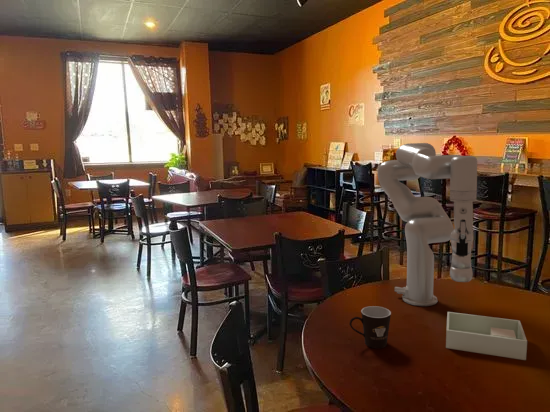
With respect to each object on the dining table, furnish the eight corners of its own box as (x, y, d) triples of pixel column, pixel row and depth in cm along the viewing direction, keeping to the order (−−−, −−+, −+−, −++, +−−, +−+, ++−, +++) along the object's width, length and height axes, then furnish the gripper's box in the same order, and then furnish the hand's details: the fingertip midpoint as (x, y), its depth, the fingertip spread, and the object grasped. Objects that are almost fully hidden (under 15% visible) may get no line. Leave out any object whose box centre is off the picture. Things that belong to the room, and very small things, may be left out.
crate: (445, 349, 120) (446, 330, 119) (446, 329, 133) (447, 311, 132) (525, 362, 112) (527, 341, 111) (518, 339, 125) (519, 320, 124)
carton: (491, 347, 119) (492, 334, 119) (490, 339, 124) (490, 327, 123) (515, 351, 117) (516, 337, 116) (513, 343, 122) (513, 330, 121)
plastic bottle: (474, 284, 129) (477, 221, 126) (451, 284, 130) (453, 221, 127) (469, 278, 135) (471, 217, 133) (447, 278, 136) (448, 218, 134)
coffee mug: (391, 338, 128) (391, 307, 126) (389, 352, 120) (389, 319, 118) (353, 334, 132) (353, 304, 130) (349, 346, 124) (349, 314, 122)
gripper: (478, 199, 120) (476, 260, 122) (474, 193, 135) (473, 247, 138) (450, 199, 123) (448, 258, 125) (449, 193, 138) (448, 245, 141)
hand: (461, 252), depth 131 cm, fingers closed on plastic bottle, 6 cm apart
